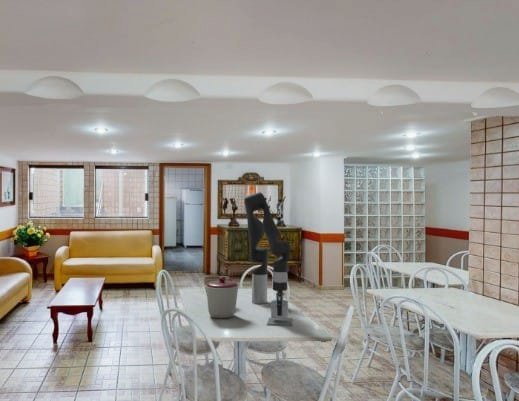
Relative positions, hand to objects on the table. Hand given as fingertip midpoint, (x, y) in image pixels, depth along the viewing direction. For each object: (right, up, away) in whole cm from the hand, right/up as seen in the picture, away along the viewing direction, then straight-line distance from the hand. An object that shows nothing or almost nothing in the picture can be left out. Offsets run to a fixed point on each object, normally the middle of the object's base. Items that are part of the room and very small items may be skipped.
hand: (279, 313), depth 216 cm
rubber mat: (0, -4, 0) cm, 4 cm away
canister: (-30, -4, +11) cm, 32 cm away
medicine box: (0, -2, 0) cm, 2 cm away
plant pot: (-36, -5, +37) cm, 52 cm away
